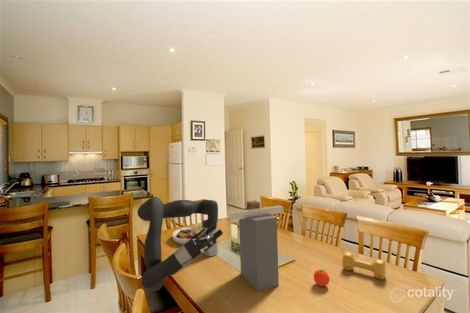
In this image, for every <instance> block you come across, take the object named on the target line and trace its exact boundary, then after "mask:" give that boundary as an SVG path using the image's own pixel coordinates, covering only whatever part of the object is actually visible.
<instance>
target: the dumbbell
mask: <svg viewBox="0 0 470 313" xmlns="http://www.w3.org/2000/svg"><path fill="white" fill-rule="evenodd" d="M341 261H342V262H341V263H342V268H343V269H344V270H345V271H350V272H351V271H352V270H353V269H354V268H359V269H363V270H366V271H370V272H372V273H373V275H374V278H376V279H377V280H381V281H382V280H384V278H385V277H386V273H387V272H386V271H387V268H386V266H387V265H386V262H385V261H384V259H383V260H382V259H380V258H379V259H378V258H377V259H375V260H374V262H372V263H370V262H367V261H363V260H358V259H356V258H355V256H354V255H353V253H352V252H350V251H349V252H348V251H345V253H343V255H342V260H341Z"/></svg>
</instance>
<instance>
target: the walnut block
mask: <svg viewBox="0 0 470 313" xmlns="http://www.w3.org/2000/svg"><path fill="white" fill-rule="evenodd" d="M257 208H261V202H260V201H258V200H248V201H246V210H250V209H257Z"/></svg>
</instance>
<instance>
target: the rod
mask: <svg viewBox="0 0 470 313" xmlns="http://www.w3.org/2000/svg"><path fill="white" fill-rule="evenodd" d="M283 213H284V206H282V205H280V204H279V205H273V206H266V207H260V208H257V209H250V210H247V209H243V210H238V211H230V212H229V211H228V213H227V214H228V220H230V221H237V220H238V221H239V219H245V218H252V217H258V216H265V215H277V214H283Z"/></svg>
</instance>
